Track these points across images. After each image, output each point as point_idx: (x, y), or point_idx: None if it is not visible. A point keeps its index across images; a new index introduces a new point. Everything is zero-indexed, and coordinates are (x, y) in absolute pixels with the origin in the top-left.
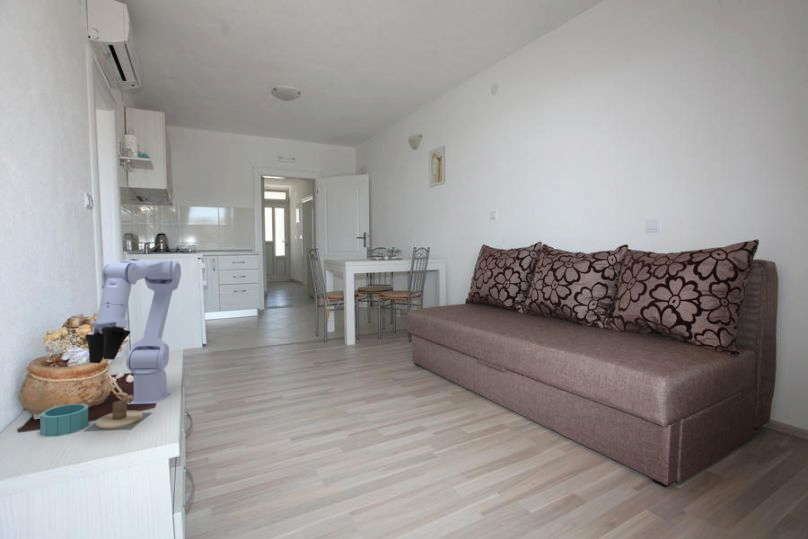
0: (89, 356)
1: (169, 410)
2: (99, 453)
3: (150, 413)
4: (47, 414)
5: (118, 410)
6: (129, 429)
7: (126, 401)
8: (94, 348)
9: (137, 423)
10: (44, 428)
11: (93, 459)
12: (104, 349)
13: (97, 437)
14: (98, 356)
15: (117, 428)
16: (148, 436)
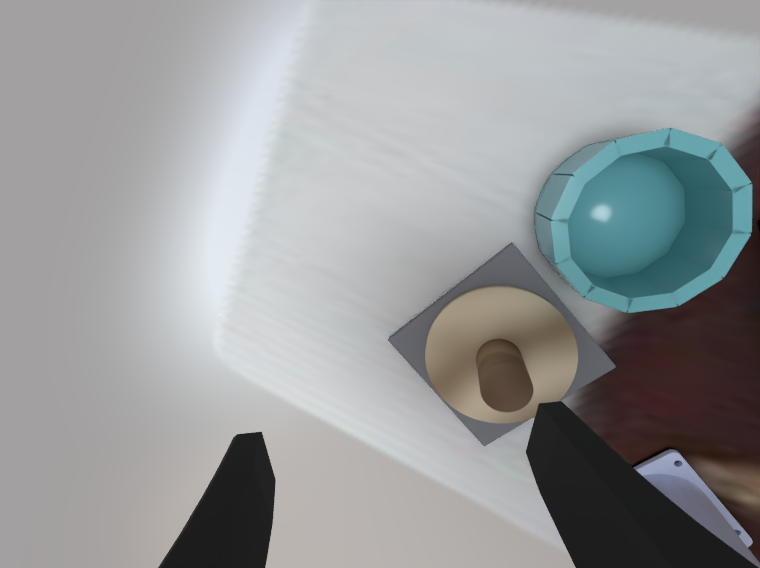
0: (596, 442)
1: (470, 484)
2: (293, 215)
3: (479, 438)
4: (705, 169)
5: (483, 364)
6: (392, 337)
7: (493, 408)
8: (627, 554)
9: (422, 373)
10: (609, 140)
11: (264, 189)
12: (208, 511)
13: (427, 257)
14: (559, 492)
15: (432, 320)
16: (307, 346)
